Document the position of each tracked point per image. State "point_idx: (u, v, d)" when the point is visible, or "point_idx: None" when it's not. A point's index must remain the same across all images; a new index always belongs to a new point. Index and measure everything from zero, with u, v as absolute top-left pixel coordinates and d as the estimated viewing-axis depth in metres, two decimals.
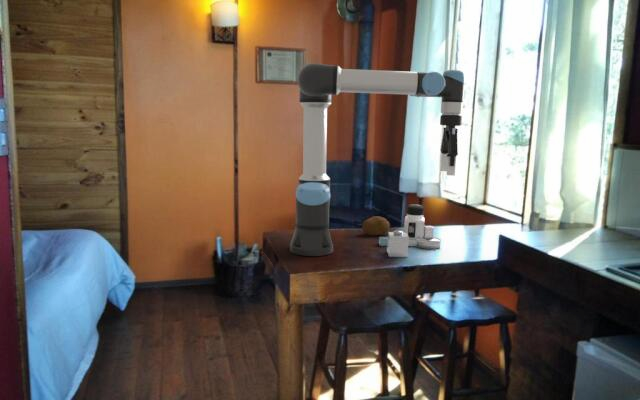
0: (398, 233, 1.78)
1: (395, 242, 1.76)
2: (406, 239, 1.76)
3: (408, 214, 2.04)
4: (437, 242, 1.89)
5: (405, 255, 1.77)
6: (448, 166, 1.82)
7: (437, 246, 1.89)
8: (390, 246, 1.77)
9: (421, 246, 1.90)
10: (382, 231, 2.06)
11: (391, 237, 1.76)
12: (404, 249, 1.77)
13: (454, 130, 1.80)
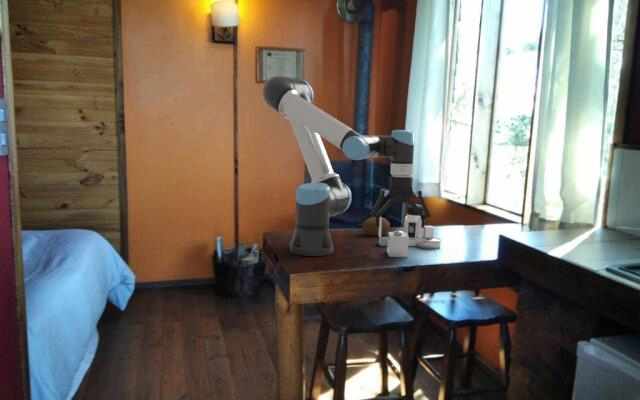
0: (398, 233, 1.78)
1: (395, 242, 1.76)
2: (406, 239, 1.76)
3: (408, 214, 2.04)
4: (437, 242, 1.89)
5: (405, 255, 1.77)
6: None
7: (437, 246, 1.89)
8: (390, 246, 1.77)
9: (421, 246, 1.90)
10: (382, 231, 2.06)
11: (391, 237, 1.76)
12: (404, 249, 1.77)
13: (381, 191, 1.77)
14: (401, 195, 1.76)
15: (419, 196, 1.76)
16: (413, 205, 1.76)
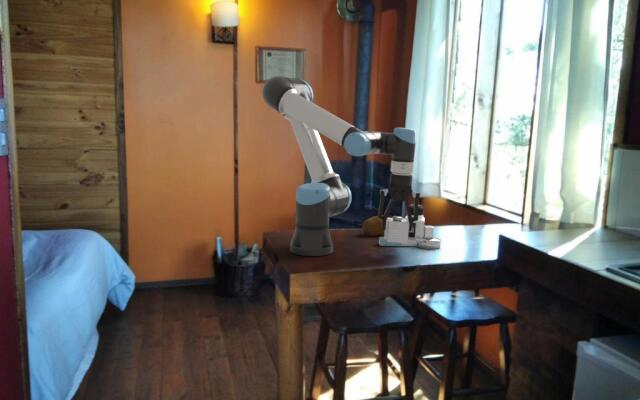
0: (397, 219, 1.77)
1: (394, 228, 1.76)
2: (405, 225, 1.76)
3: None
4: (437, 242, 1.89)
5: (404, 241, 1.77)
6: None
7: (437, 246, 1.89)
8: (389, 231, 1.76)
9: (421, 246, 1.90)
10: (382, 231, 2.06)
11: (390, 222, 1.76)
12: (403, 235, 1.76)
13: (380, 192, 1.77)
14: (400, 193, 1.76)
15: (416, 198, 1.76)
16: (407, 206, 1.77)
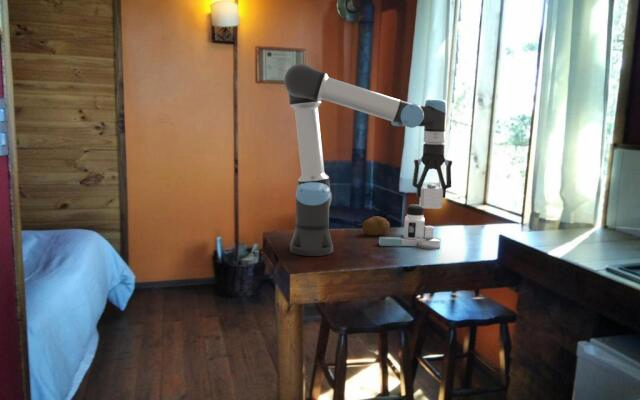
0: (432, 186, 1.87)
1: (429, 194, 1.86)
2: (439, 191, 1.86)
3: (408, 214, 2.04)
4: (437, 242, 1.89)
5: (438, 207, 1.87)
6: None
7: (437, 246, 1.89)
8: (424, 198, 1.86)
9: (421, 246, 1.90)
10: (382, 231, 2.06)
11: (425, 189, 1.86)
12: (437, 201, 1.86)
13: (414, 161, 1.87)
14: (433, 162, 1.86)
15: (448, 166, 1.86)
16: (440, 173, 1.87)
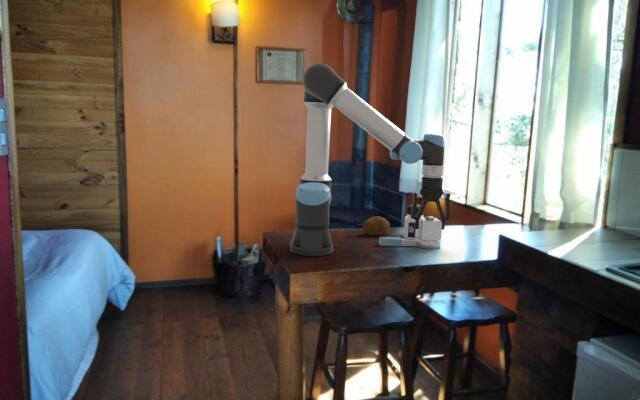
0: (430, 218, 1.90)
1: (427, 227, 1.88)
2: (438, 224, 1.88)
3: (408, 214, 2.04)
4: (437, 242, 1.89)
5: (436, 239, 1.89)
6: None
7: (437, 246, 1.89)
8: (422, 230, 1.89)
9: (421, 246, 1.90)
10: (382, 231, 2.06)
11: (423, 222, 1.88)
12: (436, 233, 1.89)
13: (413, 194, 1.90)
14: (432, 194, 1.89)
15: (447, 198, 1.89)
16: (439, 206, 1.89)
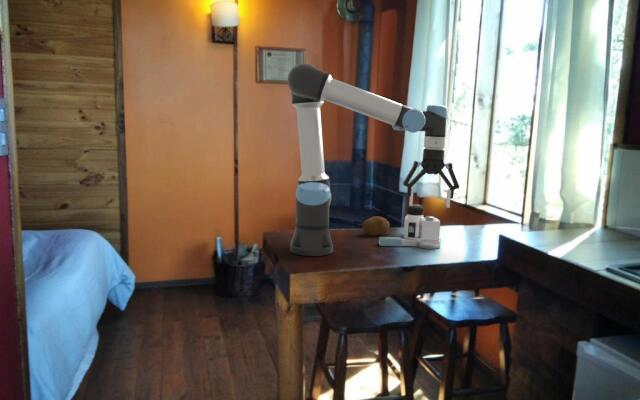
0: (430, 218, 1.90)
1: (427, 227, 1.88)
2: (438, 224, 1.88)
3: (408, 214, 2.04)
4: (437, 242, 1.89)
5: (436, 239, 1.89)
6: None
7: (437, 246, 1.89)
8: (422, 230, 1.89)
9: (421, 246, 1.90)
10: (382, 231, 2.06)
11: (423, 222, 1.88)
12: (436, 233, 1.89)
13: (414, 162, 1.88)
14: (433, 167, 1.87)
15: (450, 168, 1.87)
16: (444, 177, 1.87)
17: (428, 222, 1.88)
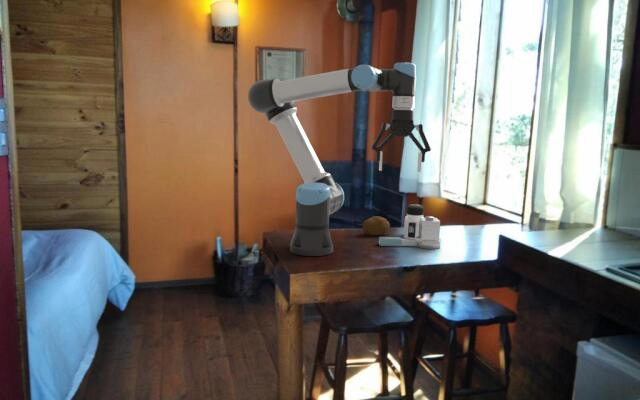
0: (430, 218, 1.90)
1: (427, 227, 1.88)
2: (438, 224, 1.88)
3: (408, 214, 2.04)
4: (437, 242, 1.89)
5: (436, 239, 1.89)
6: (379, 161, 1.81)
7: (437, 246, 1.89)
8: (422, 230, 1.89)
9: (421, 246, 1.90)
10: (382, 231, 2.06)
11: (423, 222, 1.88)
12: (436, 233, 1.89)
13: (382, 124, 1.78)
14: (402, 128, 1.77)
15: (420, 130, 1.77)
16: (414, 139, 1.78)
17: (428, 222, 1.88)
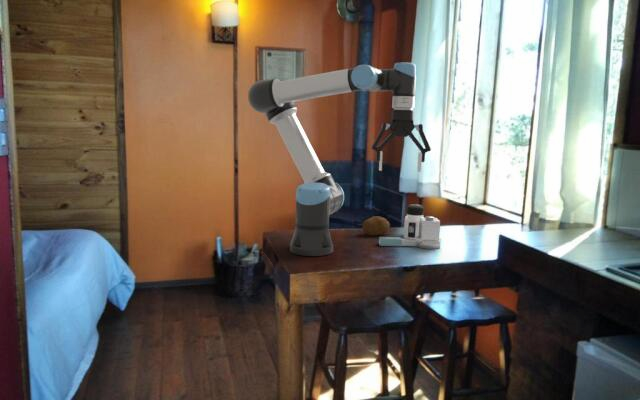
0: (430, 218, 1.90)
1: (427, 227, 1.88)
2: (438, 224, 1.88)
3: (408, 214, 2.04)
4: (437, 242, 1.89)
5: (436, 239, 1.89)
6: (379, 161, 1.81)
7: (437, 246, 1.89)
8: (422, 230, 1.89)
9: (421, 246, 1.90)
10: (382, 231, 2.06)
11: (423, 222, 1.88)
12: (436, 233, 1.89)
13: (382, 124, 1.78)
14: (402, 128, 1.77)
15: (420, 130, 1.77)
16: (414, 139, 1.78)
17: (428, 222, 1.88)
